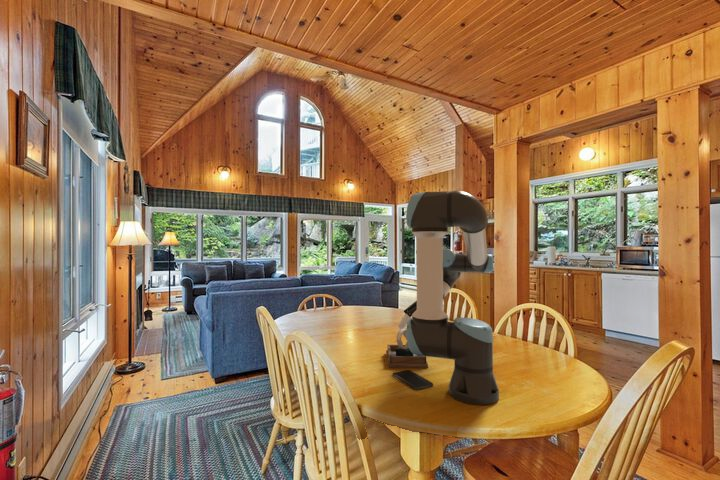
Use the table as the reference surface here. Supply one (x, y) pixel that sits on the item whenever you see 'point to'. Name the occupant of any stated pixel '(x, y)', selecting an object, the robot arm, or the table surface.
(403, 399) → the table surface
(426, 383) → the phone
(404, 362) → the walnut tray
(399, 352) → the watch
